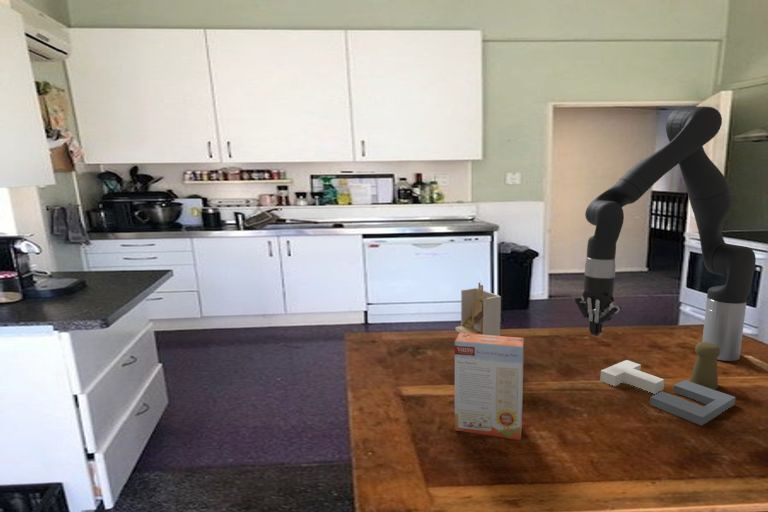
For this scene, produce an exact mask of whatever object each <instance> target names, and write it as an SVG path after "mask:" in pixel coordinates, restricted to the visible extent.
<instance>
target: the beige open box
mask: <svg viewBox="0 0 768 512" xmlns="http://www.w3.org/2000/svg"><path fill="white" fill-rule="evenodd" d="M460 293H461V294H460V295H461V297H460V298H461V301H460V302H461V303H460V304H461V305H460V307H461V308H460V310H461V311H460V315H461V316H460V325H459V326H455V331H456V332H458V333H470V334H481V335H494V336H501V315H502V314H501V309H502V308H501V307H502V306H501V305H502V296H501V295H499V294H495V293H492V292H489V291H486V290H484V285H483V284H481V282H478V287H474V288H468V289H461V292H460Z"/></svg>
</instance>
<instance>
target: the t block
mask: <svg viewBox="0 0 768 512" xmlns="http://www.w3.org/2000/svg"><path fill="white" fill-rule="evenodd" d="M641 368H642V364H640V363H636V362H634V361H632V360H628V359H626V360H625V359H624V360H623V361H620V362H617V363H615V364H613V365H611V366H608V367H606V368H603V369H601V370H600V377H599V380H600V382H601V383H604V382H605V383H604V384H606V385H609V384H610V386H612V385H613V386H612V387H614V386H615V387H617V386H619V385H621V384H620V383H622V384H626V383H627V384H626V385H628V384H630V385H629V386H631V385H633V386H635V387H634V388H636V387H638V388H641V389H643V390H642V391H644V390H646V391H648V392H647V393H649V392H651V393H653V394H652V395H654V394H655V395H656V393H658V392H659V391H662V390H663V391H664V385H665V379H664V378H661V377H658V376H656V375H652V374H650V373H647V372H644V371H642V370H641ZM623 382H624V383H623ZM618 384H619V385H618ZM616 385H617V386H616ZM633 386H632V387H633ZM638 388H637V389H638ZM641 389H640V390H641ZM646 391H645V392H646ZM651 393H650V394H651Z"/></svg>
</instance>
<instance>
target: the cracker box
mask: <svg viewBox="0 0 768 512" xmlns="http://www.w3.org/2000/svg"><path fill="white" fill-rule="evenodd" d="M524 341H525V339H524V337H516V336H504V335H500V336H494V335H481V334H470V333H460V332H458V334H457V337H456V338H455V341H454V430H455V431H456V432H464V433H470V434H478V435H484V436H491V437H496V438H501V439H502V438H503V439H510V440H517V441H521V439H522V430H523V429H522V427H523V397H524V396H523V395H524V394H523V386H524V385H523V384H524V347H525V346H524V344H525V342H524Z"/></svg>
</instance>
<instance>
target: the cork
mask: <svg viewBox="0 0 768 512" xmlns="http://www.w3.org/2000/svg"><path fill="white" fill-rule="evenodd" d="M694 351H695V353H696V358H695V361H694V365H693V367H692V368H693V369H692V372H691V376H690V380H689V381H690V382H693V383H695V384H698V385H701V386H704V387H707V388H710V389H713V390H717V389H718V388H719V383H718V382H719V378H718V375H719V374H718V363H717V362H718V359H717V357H719V355H720V349H719V347H718V346H717V345H715V344H713V343H708V342H702V341H700V342H698V343H697V344H696V345H695V347H694ZM716 388H717V389H716Z"/></svg>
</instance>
